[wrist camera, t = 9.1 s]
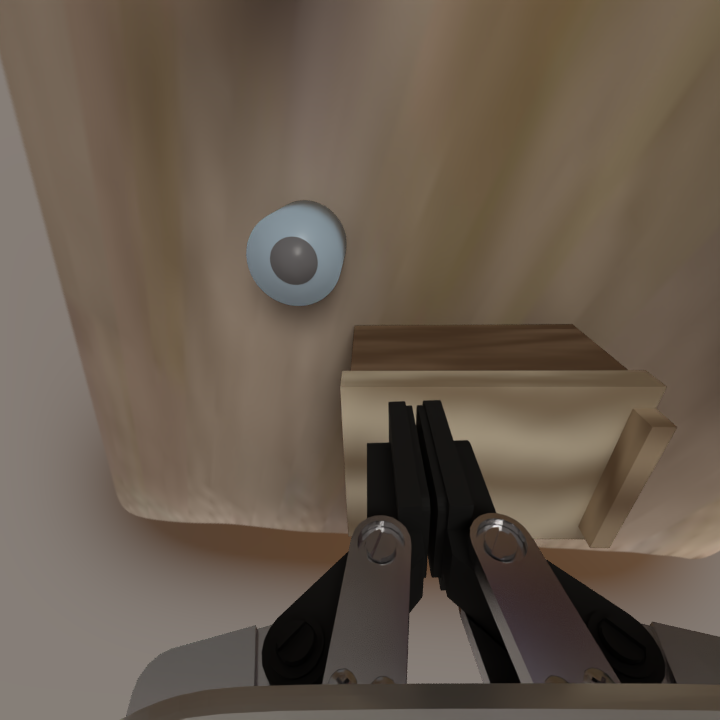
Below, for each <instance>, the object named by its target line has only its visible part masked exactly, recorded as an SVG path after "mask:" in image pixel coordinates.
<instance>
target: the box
mask: <svg viewBox="0 0 720 720" xmlns="http://www.w3.org/2000/svg"><path fill="white" fill-rule="evenodd" d="M599 370H627V369H626V368H625V367H624V366H623V365H621V364H620V363H619V362H618V361H617V360H615V359H614V358H613V357H612V356H610V355H609V354H608V353H607V352H606V351H604V350H603V349H602V348H601V347H599V346H598V345H597V344H596V343H595V342H593V341H592V340H591V339H590V338H588V337H587V336H586V335H585V334H584V333H582V332H581V331H580V330H579V329H577V328H576V327H575V326H574V325H573V324H545V325H364V326H355V328H354V339H353V350H352V361H351V371H599Z"/></svg>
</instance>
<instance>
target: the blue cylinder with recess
mask: <svg viewBox="0 0 720 720" xmlns="http://www.w3.org/2000/svg"><path fill="white" fill-rule="evenodd" d="M345 253H346V235H345V231H344V228H343V226H342V224H341V222H340V220H339V219H338V218H337V216H336V215H335V214H334V213H333V212H332V211H331V210H330V209H328V208H327V207H325V206H324V205H322V204H320V203H317V202H314V201H307V200H301V201H295V202H292V203H290V204H287V205H286V206H284V207H282V208H280V209H279V210H277V211H275V212H273V213H271V214H270V215H268V216H266V217H265V218H263V219H262V220H261V221H260V222H259V223H258V224H257V225H256V226H255V228H254V229H253V231H252V232H251V235H250V237H249V240H248V243H247V254H246V256H247V263H248V267H249V270H250V273H251V275H252V277H253V279H254V281H255V282H256V284H257V285H258V286H259V287H260V288H261V290H262V291H264V292H265V293H266V294H267V295H268V296H270V297H271V298H273V299H274V300H276V301H279V302H281V303H284V304H287V305H292V306H305V305H310V304H313V303H316V302H318V301H320V300H322V299H323V298H325V297H326V296H327V295H328V294H329V293H330V292H331V291H332V290H333V288H334V287H335V285H336V284H337V281H338V279H339V276H340V273H341V269H342V265H343V261H344V257H345Z"/></svg>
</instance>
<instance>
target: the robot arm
mask: <svg viewBox="0 0 720 720" xmlns="http://www.w3.org/2000/svg"><path fill="white" fill-rule="evenodd" d="M388 414H389V442H387V443H367V519H365V520H364V521H362V522H361V523H359V525H358V526H357V527H356V528H355V530H354V532H353V535H352V538H351V542H350V547H349V551H348V552H347V553H346V554H345V555H344V556H343V557H342V558H341V559H340V560H339V561H338V562H337V563H336V564H335V565H334V566H332V567H331V568H330V569H329V570H328V571H327V572H326V573H325V574H324V575H323V576H322V577H321V578H320V579H319V580H318V581H317V582H315V583H314V584H313V585H312V586H311V587H310V588H309V589H308V590H307V591H306V592H305V593H304V594H303V595H302V596H301V597H300V598H299V599H298V600H296V601H295V602H294V603H293V604H292V605H291V606H290V607H289V608H288V609H287V610H286V611H285V612H284V613H283V614H282V615H281V616H279V617H278V618H277V620H276V621H275V622H274V623H273V624H272V625H270V626H266V627H263V628H259V629H257V628H256V626H252V627H248V628H244V629H240V630H237V631H233V632H230V633H226V634H223V635H219V636H215V637H212V638H208V639H205V640H201V641H197V642H194V643H190V644H187V645H183V646H180V647H176V648H173V649H170V650H168V651H166V652H164V653H162V654H160V655H158V656H157V657H156V658H155V659H154V660H153V661H152V662H150V663H149V664H148V665H147V667H146V668H145V670H144V671H143V672H142V674H141V675H140V676H139V678H138V680H137V682H136V685H135V688H134V690H133V692H132V695H131V699H130V703H129V707H128V711H127V715H126V717H125V718H123V719H121V720H720V637H718V636H713V635H709V634H705V633H700V632H696V631H691V630H687V629H682V628H678V627H674V626H669V625H665V624H661V623H656V622H652V623H651V624H650V626H649V625H645V624H640V623H639V622H638V621H637V620H636V619H634V618H633V617H632V616H631V615H629V614H628V613H626V612H625V611H623V610H622V609H620V608H619V607H617V606H616V605H614V604H613V603H611V602H610V601H608V600H607V599H605V598H604V597H602V596H601V595H599V594H597V593H596V592H595V591H593V590H591V589H590V588H589V587H587V586H586V585H584V584H582V583H581V582H579V581H578V580H576V579H575V578H573V577H572V576H570V575H569V574H567V573H566V572H564V571H563V570H561V569H560V568H558V567H557V566H555V565H554V564H552V563H551V562H549V561H548V560H546V559H545V558H544V556H543V554H542V553H541V551H540V549H539V548H538V546H537V545H536V543H535V541H534V540H533V538H532V536H531V535H530V533H529V532H528V531H527V530H526V528H525V527H524V526H523V525H521V524H520V523H519V522H518V521H516V520H515V519H513V518H511V517H509V516H507V515H503V514H499V513H496V510H495V508H494V505H493V502H492V500H491V497H490V494H489V492H488V489H487V486H486V483H485V481H484V478H483V475H482V473H481V470H480V467H479V465H478V462H477V459H476V457H475V454H474V451H473V449H472V446H471V444H470V442H469V441H468V440H455V441H454V440H453V437H452V434H451V431H450V428H449V424H448V421H447V418H446V415H445V412H444V409H443V405H442V402H441V400H424V401H423V404H422V405H417V408H416V423H415V418H414V413H413V408H412V405H408V406H406V403H405V401H395V402H388ZM427 556H428V559H429V566H430V571H431V576H432V577H438V578H439V584H440V589H441V590H446V593H447V597H448V598H449V599H451V600H452V601H453V602H454V603H455V604H456V605H457V606H458V607H459V613H460V617H461V620H462V623H463V625H464V628H465V631H466V634H467V637H468V640H469V643H470V646H471V649H472V652H473V655H474V658H475V660H476V663H477V666H478V669H479V672H480V675H481V678H482V681H483V684H407V659H408V635H409V613H410V612H411V610H412V609H413V608H414V607H415V605H416V604H417V603H418V602H419V600H420V599H421V598H422V594H423V579H424V578H426V571H427Z"/></svg>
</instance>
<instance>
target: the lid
mask: <svg viewBox="0 0 720 720" xmlns="http://www.w3.org/2000/svg"><path fill="white" fill-rule="evenodd" d="M666 388H667V386H665V385H664V384H663V383H661V382H660V381H659V380H657V379H656V378H655V377H654V376H652V375H651V374H650V373H648V372H647V371H646V370H599V371H342V377H341V385H340V391H341V410H342V428H343V446H344V465H345V483H346V502H347V520H348V536H352V535H353V532H354V530H355V528H356V527H357V526H358V525H359V523H361V522H362V521H364V520H365V519H367V443H387V442H389V414H388V402H395V401H405V403H406V406H408V405H412V408H413V413H414V418H415V423H416V408H417V405H422V404H423V401H424V400H441V402H442V405H443V409H444V412H445V415H446V418H447V421H448V424H449V428H450V431H451V434H452V437H453V440H454V441H455V440H468V441H469V442H470V444H471V446H472V449H473V451H474V454H475V457H476V459H477V462H478V465H479V467H480V470H481V473H482V475H483V478H484V481H485V483H486V486H487V489H488V492H489V494H490V497H491V500H492V502H493V505H494V508H495V510H496V513H499V514H503V515H507V516H509V517H511V518H513V519H515V520H516V521H518V522H519V523H520V524H521V525H523V526H524V527H525V528H526V530H527V531H528V532H529V533H530V535H531V536H532V538H533V539H585V540H586V541H587V543H588V545H589V547H590V548H610V546H611V544H612V542H613V541H614V539H615V537H616V535H617V533H618V532H619V530H620V528H621V526H622V525H623V523H624V521H625V519H626V517H627V516H628V514H629V512H630V510H631V509H632V507H633V505H634V503H635V501H636V500H637V498H638V496H639V494H640V493H641V491H642V489H643V487H644V486H645V484H646V482H647V480H648V478H649V477H650V475H651V473H652V471H653V470H654V468H655V466H656V464H657V462H658V461H659V459H660V457H661V455H662V454H663V452H664V450H665V448H666V446H667V445H668V443H669V441H670V439H671V438H672V436H673V434H674V432H675V430H676V429H677V427H676V426H675V425H674V424H673V423H672V422H671V421H670V420H668V419H667V418H666V417H665V416H664V415H663V414H662V413H660V412H659V411H658V410H657V409H656V407H657V405H658V403H659V401H660V399H661V397H662V396H663V394H664V392H665V390H666Z"/></svg>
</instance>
